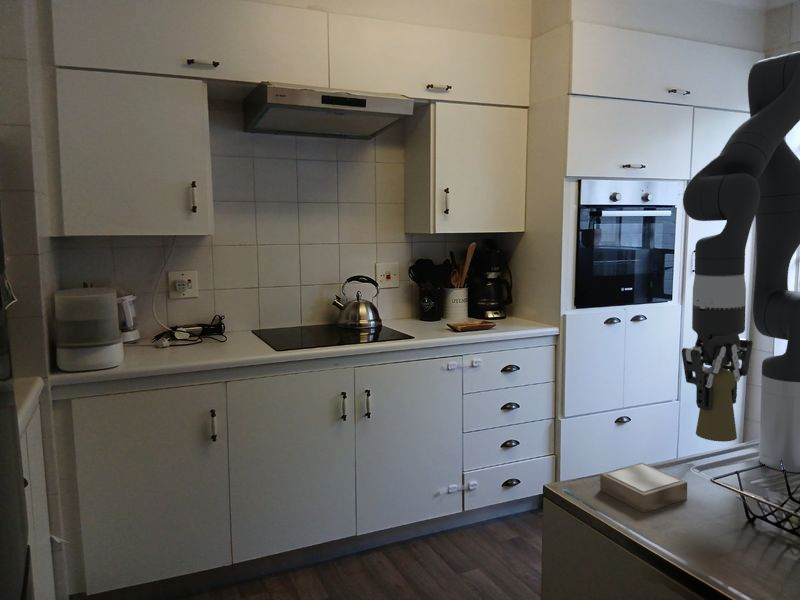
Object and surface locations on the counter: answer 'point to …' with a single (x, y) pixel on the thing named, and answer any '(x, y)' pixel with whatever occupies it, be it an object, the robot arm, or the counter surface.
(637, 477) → the base block
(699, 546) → the counter surface
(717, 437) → the cork
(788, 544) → the counter surface
